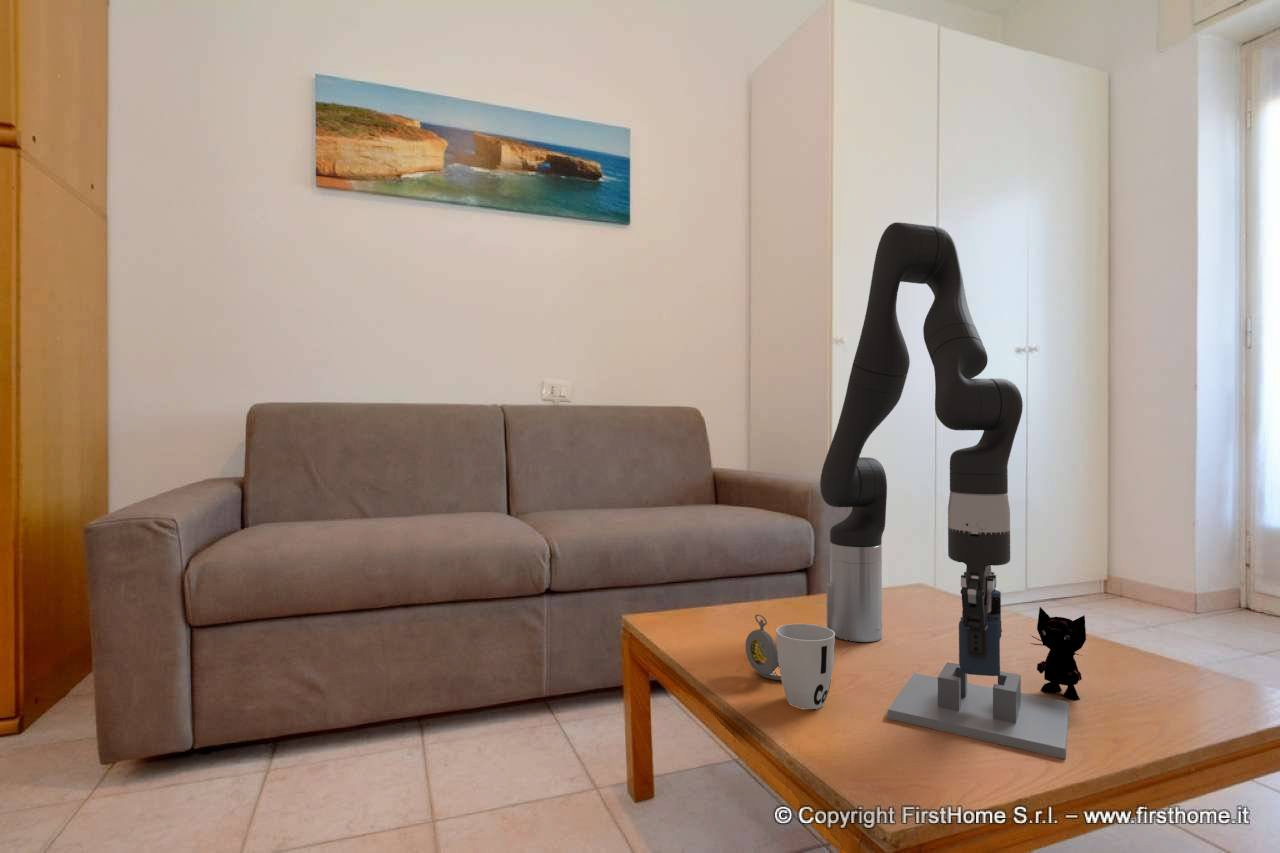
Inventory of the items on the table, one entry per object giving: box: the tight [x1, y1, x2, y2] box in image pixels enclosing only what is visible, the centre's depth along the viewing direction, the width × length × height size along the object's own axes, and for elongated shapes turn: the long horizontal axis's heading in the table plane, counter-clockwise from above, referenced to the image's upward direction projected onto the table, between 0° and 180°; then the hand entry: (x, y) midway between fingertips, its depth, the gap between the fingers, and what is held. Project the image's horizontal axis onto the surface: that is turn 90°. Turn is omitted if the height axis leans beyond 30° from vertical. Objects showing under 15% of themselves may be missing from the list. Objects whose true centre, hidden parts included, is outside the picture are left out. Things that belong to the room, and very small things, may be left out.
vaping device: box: [958, 584, 1003, 677], centre depth 91 cm, size 3×5×12 cm, turn 77°
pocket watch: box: [745, 614, 782, 681], centre depth 105 cm, size 8×8×10 cm
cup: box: [775, 623, 836, 710], centre depth 95 cm, size 8×8×10 cm
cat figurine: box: [1029, 606, 1087, 701], centre depth 98 cm, size 7×7×12 cm
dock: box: [887, 661, 1070, 760], centre depth 90 cm, size 20×16×5 cm
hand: (979, 652), depth 90 cm, fingers closed on vaping device, 3 cm apart
